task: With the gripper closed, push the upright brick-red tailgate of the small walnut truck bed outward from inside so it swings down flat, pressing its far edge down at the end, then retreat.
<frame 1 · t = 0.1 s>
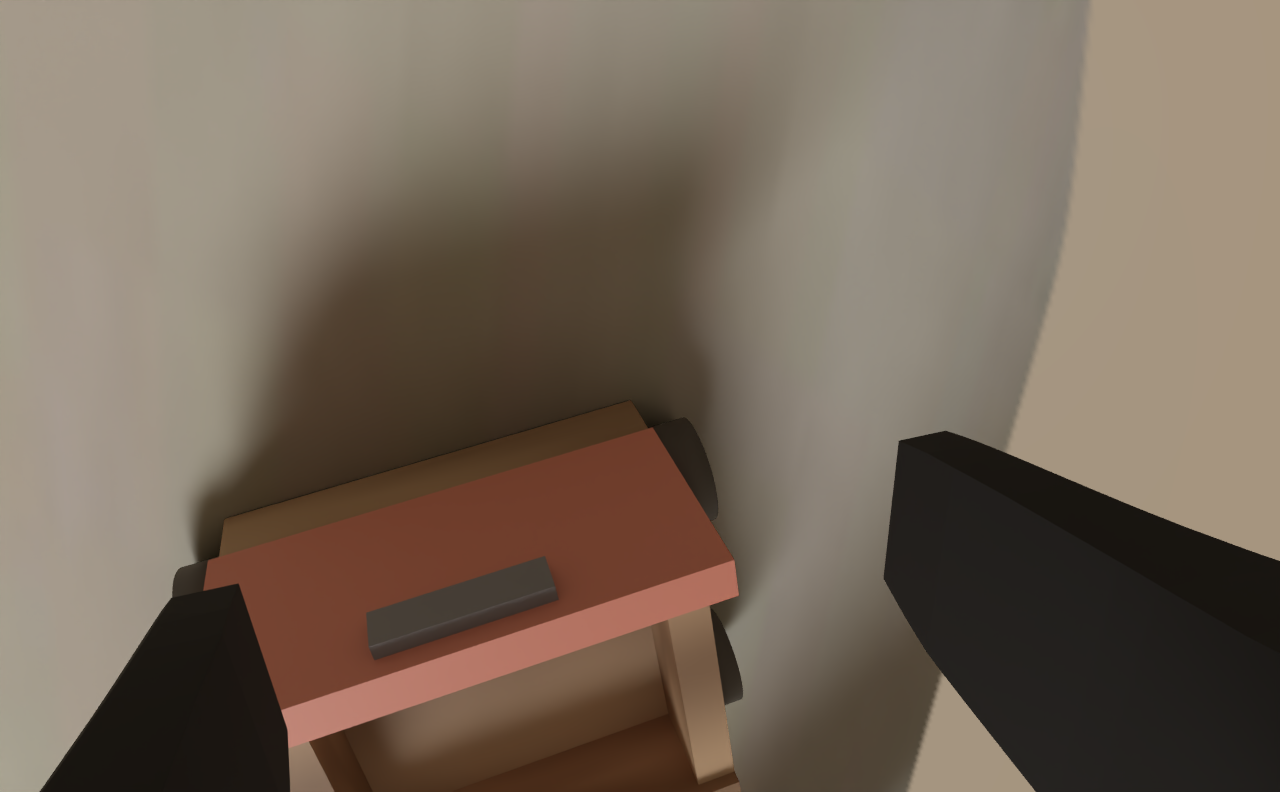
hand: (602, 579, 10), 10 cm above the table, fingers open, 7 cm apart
truck bed: (484, 606, 23), on the table
tailgate: (457, 570, 16), point 4 cm above the table, hinge at 0.0°
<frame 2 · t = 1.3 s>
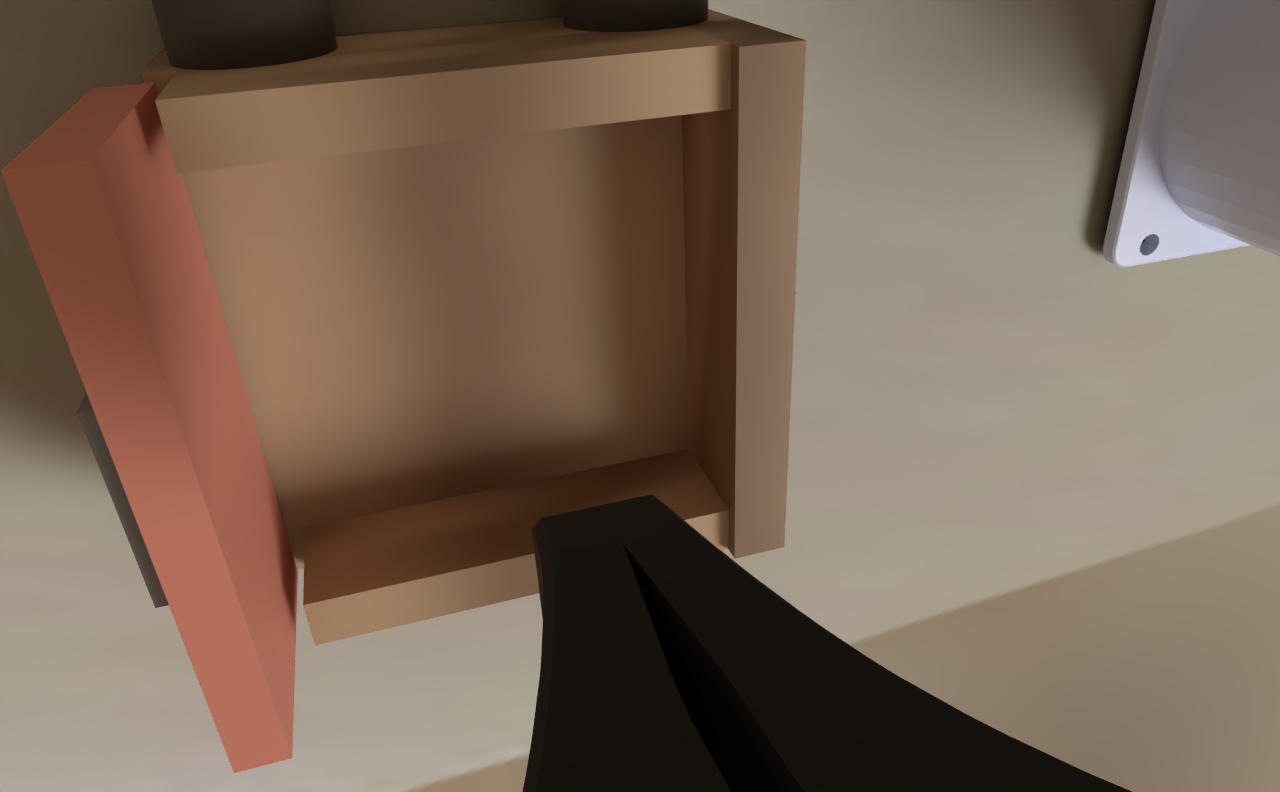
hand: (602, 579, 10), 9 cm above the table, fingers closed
truck bed: (480, 274, 18), on the table
tailgate: (184, 435, 13), point 4 cm above the table, hinge at 0.0°
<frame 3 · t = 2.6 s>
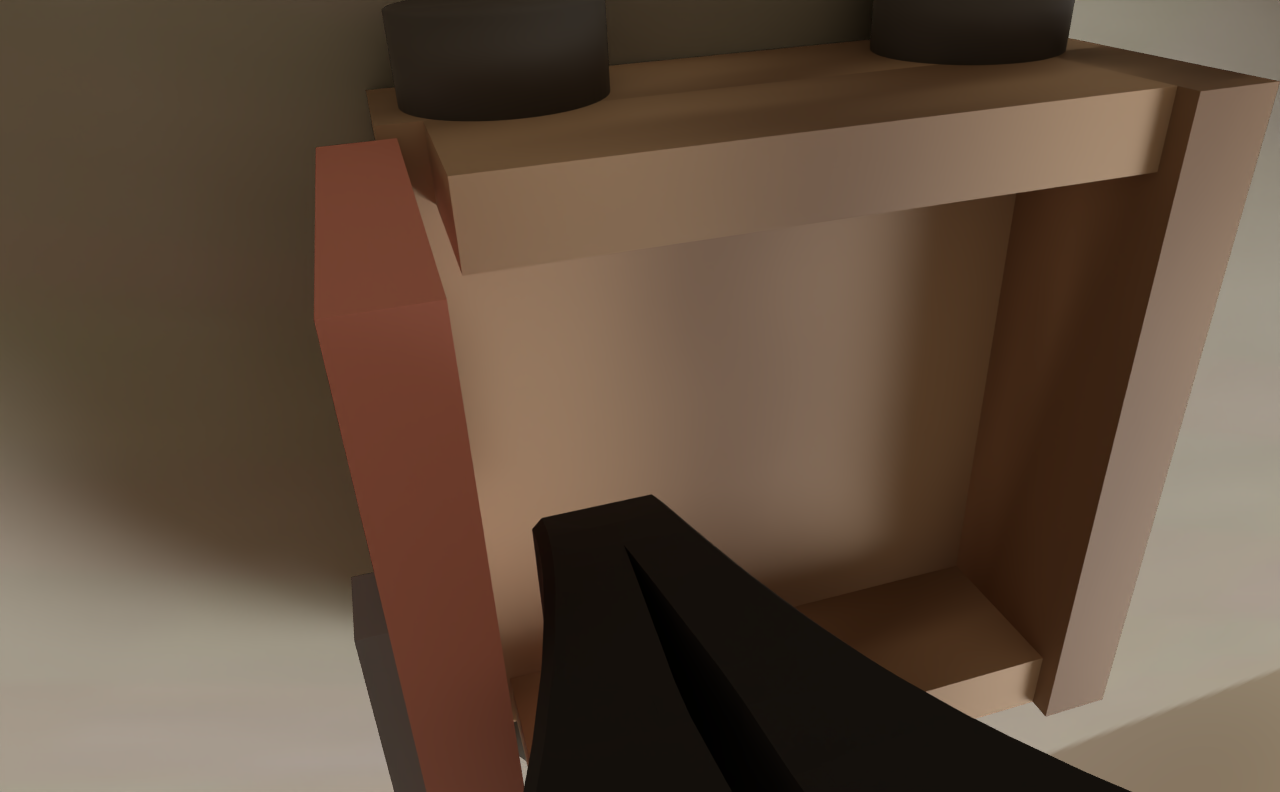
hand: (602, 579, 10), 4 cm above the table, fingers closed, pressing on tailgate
truck bed: (715, 357, 14), on the table
tailgate: (430, 616, 10), point 4 cm above the table, hinge at 0.0°, touching gripper
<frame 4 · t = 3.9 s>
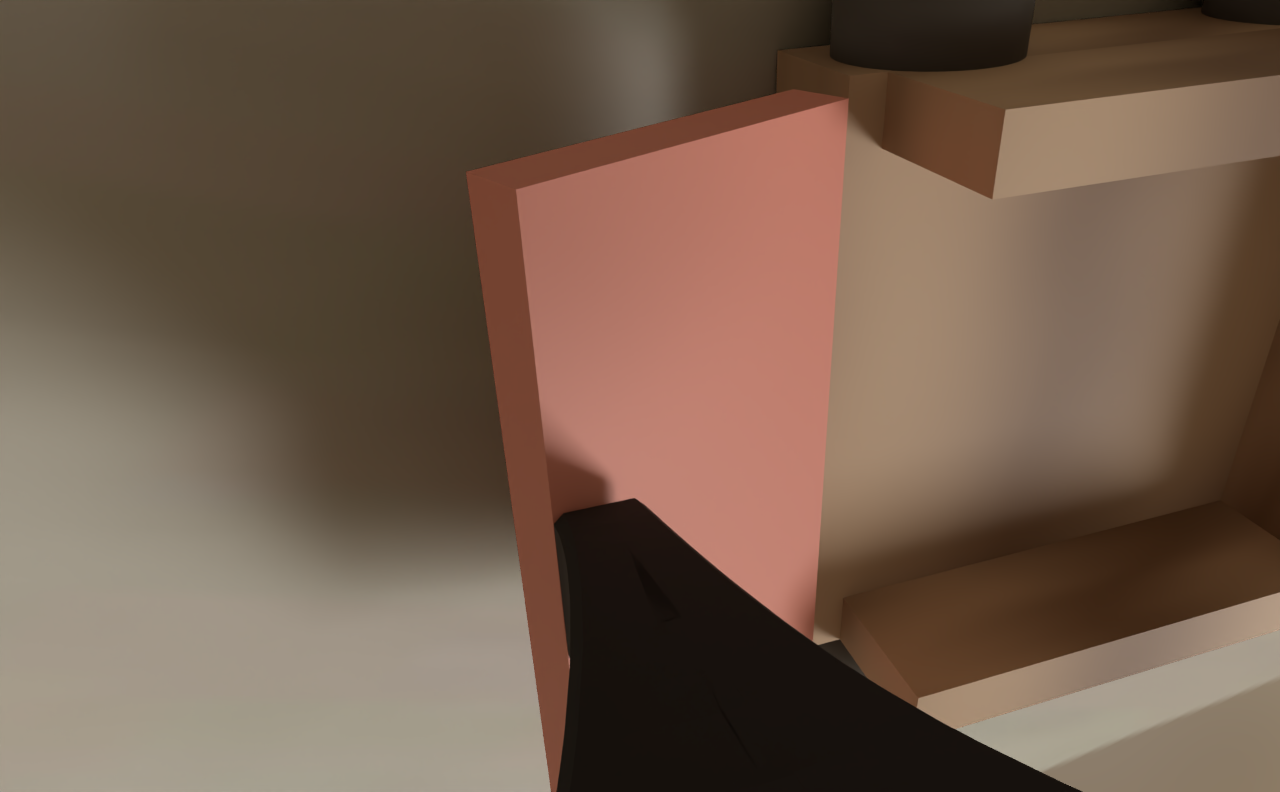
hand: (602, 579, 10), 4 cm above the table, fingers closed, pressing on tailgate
truck bed: (1013, 305, 16), on the table
tailgate: (677, 486, 12), point 3 cm above the table, hinge at 66.6°, touching gripper
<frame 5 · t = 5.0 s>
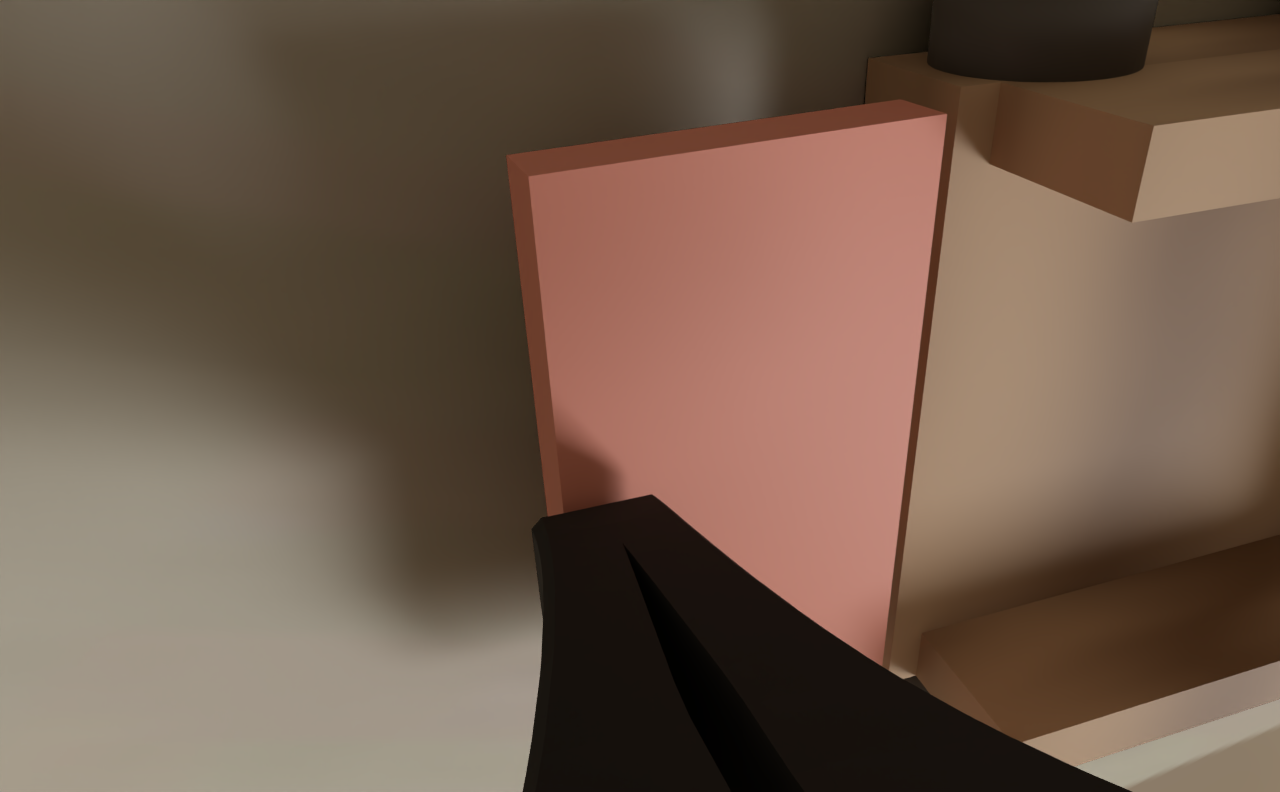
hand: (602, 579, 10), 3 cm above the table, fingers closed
truck bed: (1096, 323, 15), on the table
tailgate: (726, 492, 11), point 2 cm above the table, hinge at 85.9°
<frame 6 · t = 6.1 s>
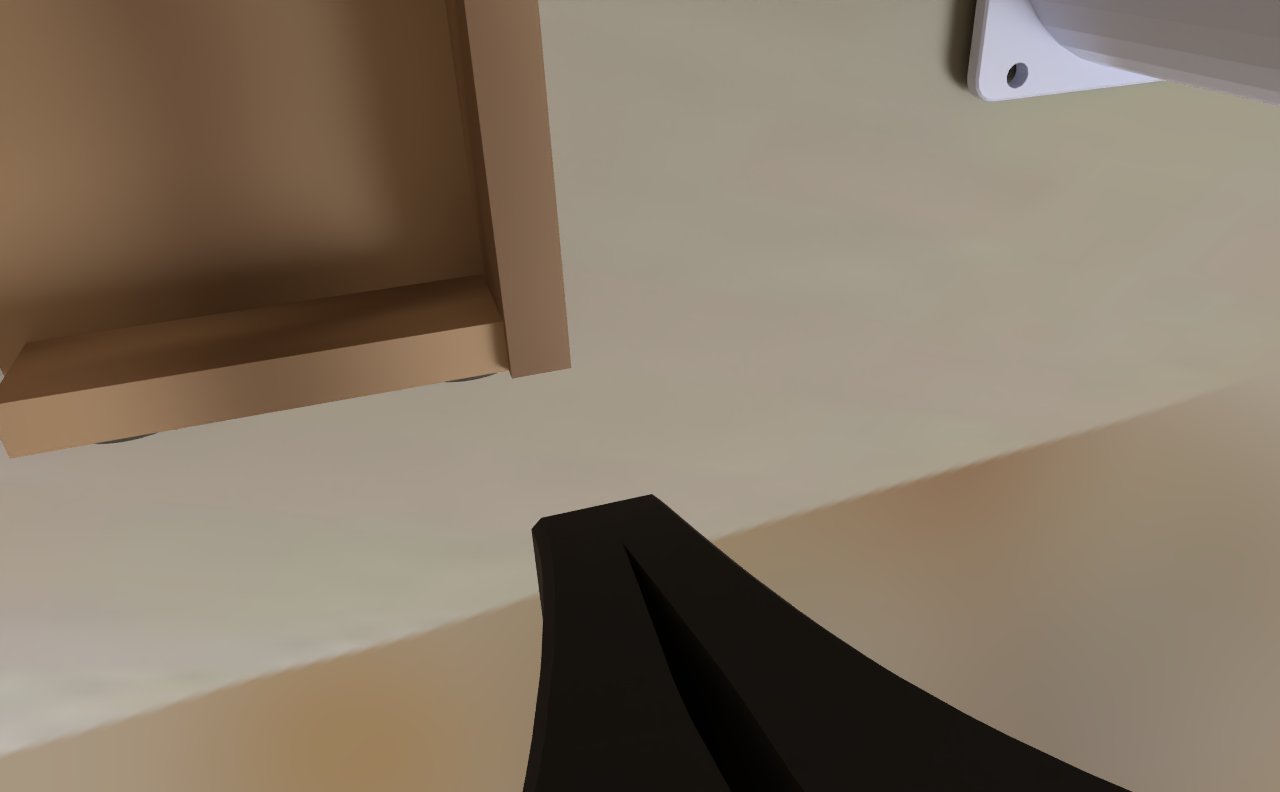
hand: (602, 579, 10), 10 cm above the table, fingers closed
truck bed: (236, 68, 16), on the table
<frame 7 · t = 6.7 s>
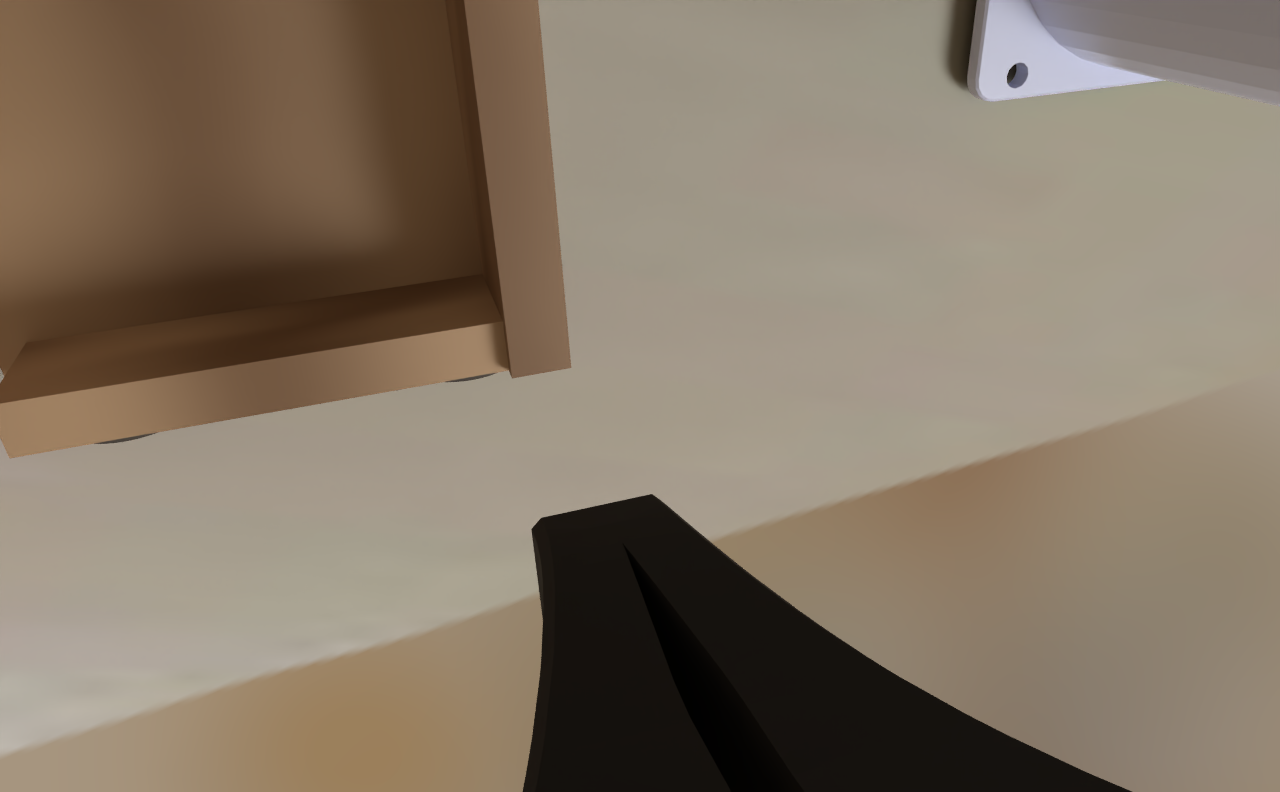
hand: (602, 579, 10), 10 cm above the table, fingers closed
truck bed: (236, 68, 16), on the table
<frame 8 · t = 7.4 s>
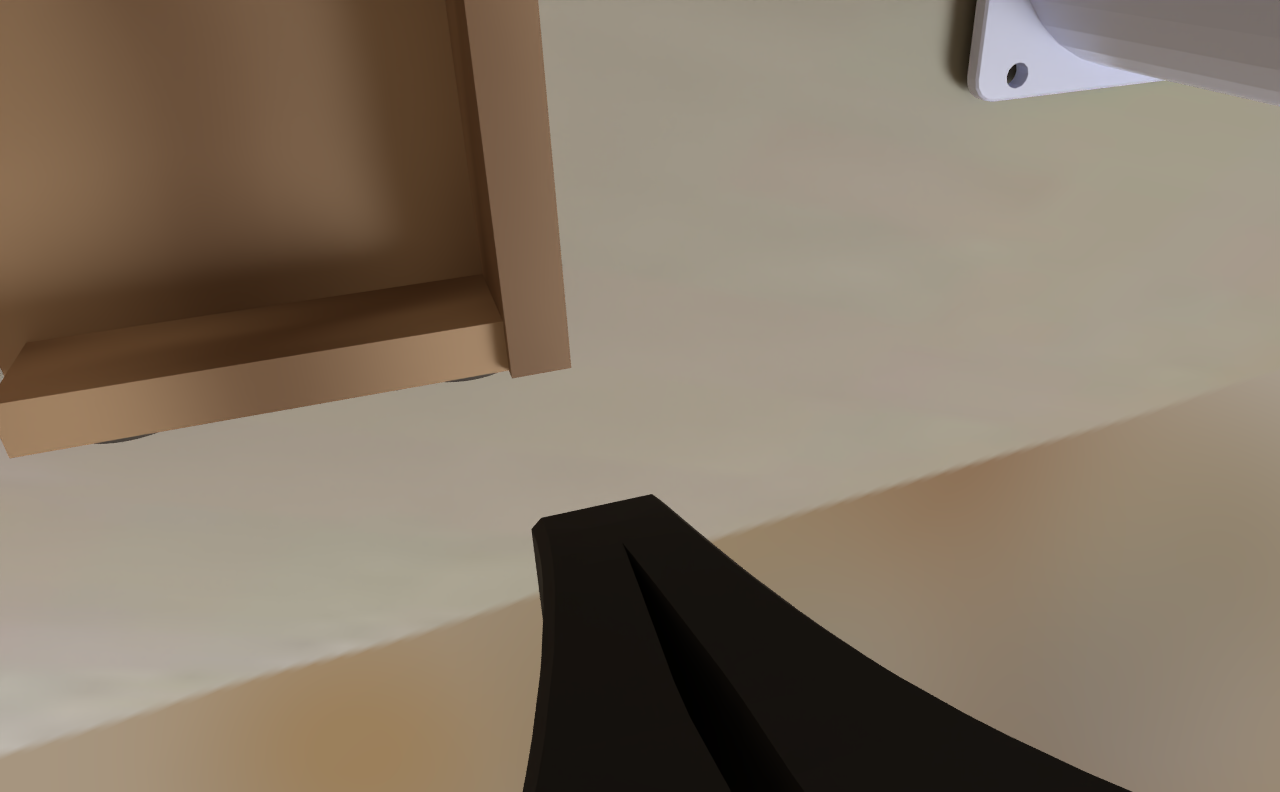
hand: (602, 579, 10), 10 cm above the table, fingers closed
truck bed: (236, 68, 16), on the table
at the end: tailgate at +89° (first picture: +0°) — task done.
